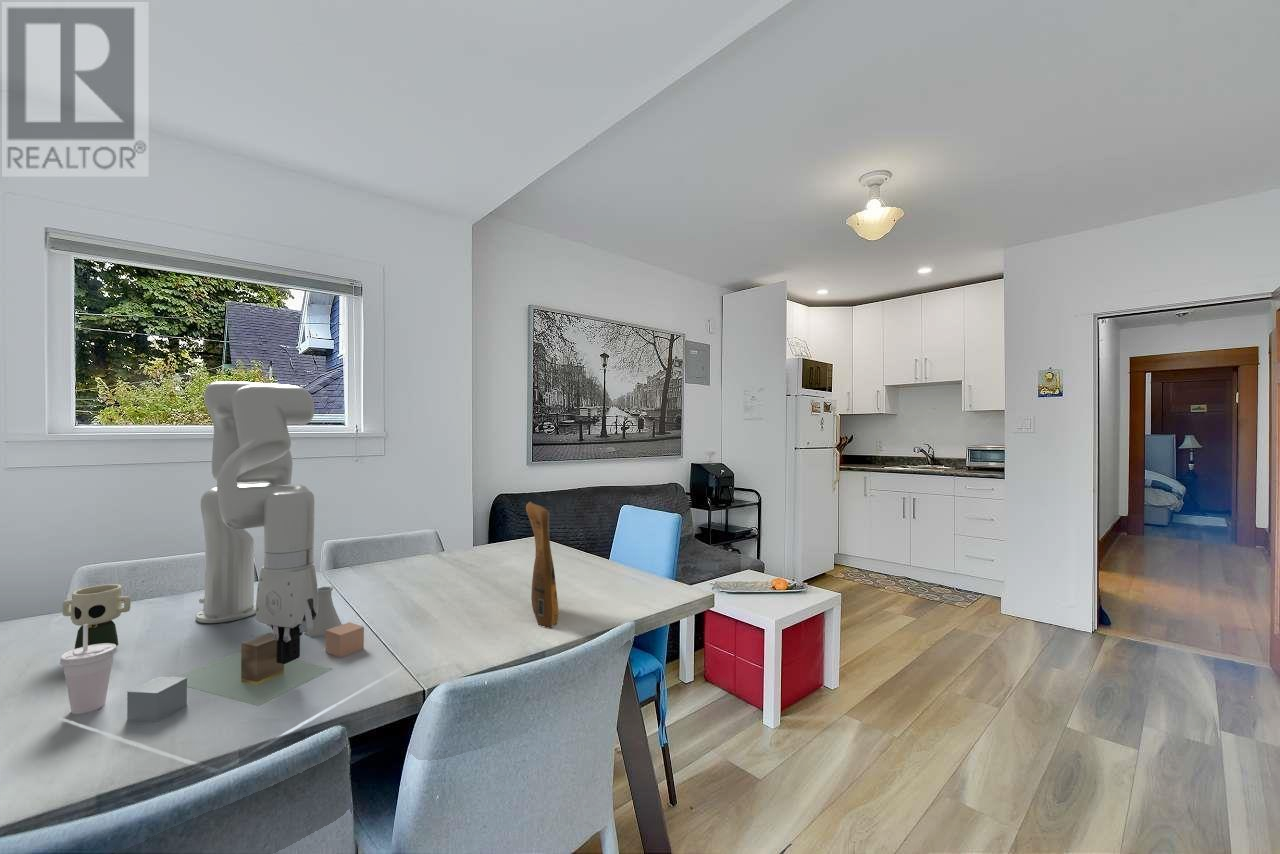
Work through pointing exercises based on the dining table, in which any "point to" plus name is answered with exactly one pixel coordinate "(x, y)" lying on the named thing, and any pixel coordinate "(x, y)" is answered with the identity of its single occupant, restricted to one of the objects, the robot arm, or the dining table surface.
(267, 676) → the walnut block
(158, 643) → the dining table surface
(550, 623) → the pancake mix bag
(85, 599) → the character mug
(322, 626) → the flask
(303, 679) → the rubber mat
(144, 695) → the slate block
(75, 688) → the smoothie
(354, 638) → the terracotta block
